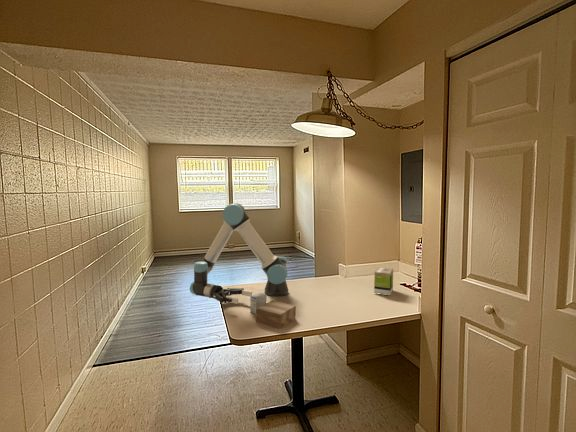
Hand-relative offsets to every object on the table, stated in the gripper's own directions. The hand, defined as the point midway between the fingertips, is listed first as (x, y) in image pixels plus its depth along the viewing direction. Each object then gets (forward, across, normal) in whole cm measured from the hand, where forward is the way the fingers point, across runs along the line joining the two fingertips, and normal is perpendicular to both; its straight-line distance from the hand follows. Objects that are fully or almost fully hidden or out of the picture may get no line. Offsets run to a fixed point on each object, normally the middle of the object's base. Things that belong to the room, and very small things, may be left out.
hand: (245, 297), depth 168 cm
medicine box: (+8, 0, -6) cm, 10 cm away
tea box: (+62, -69, -6) cm, 93 cm away
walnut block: (+22, +6, -6) cm, 24 cm away
